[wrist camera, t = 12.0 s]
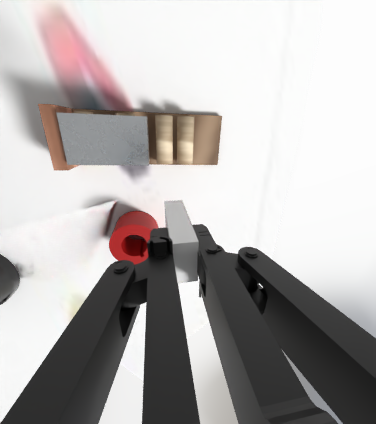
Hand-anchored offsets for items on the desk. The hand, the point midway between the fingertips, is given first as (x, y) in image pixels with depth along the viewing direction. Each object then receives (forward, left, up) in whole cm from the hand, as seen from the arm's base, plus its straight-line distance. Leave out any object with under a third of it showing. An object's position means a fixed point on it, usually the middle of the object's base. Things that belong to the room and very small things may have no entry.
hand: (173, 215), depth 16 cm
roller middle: (+1, +5, -21) cm, 21 cm away
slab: (-9, +5, -21) cm, 23 cm away
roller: (+5, +5, -21) cm, 22 cm away
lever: (-4, -18, -25) cm, 31 cm away
